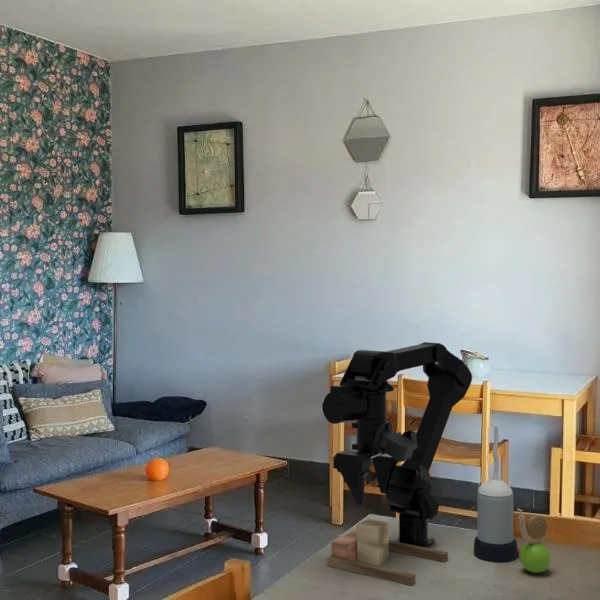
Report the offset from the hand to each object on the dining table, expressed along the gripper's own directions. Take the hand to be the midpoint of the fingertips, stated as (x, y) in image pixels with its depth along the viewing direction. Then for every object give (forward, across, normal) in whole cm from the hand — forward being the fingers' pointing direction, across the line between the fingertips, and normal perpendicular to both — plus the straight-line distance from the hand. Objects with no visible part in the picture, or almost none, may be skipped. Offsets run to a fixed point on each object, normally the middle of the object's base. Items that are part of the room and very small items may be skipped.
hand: (371, 498), depth 153 cm
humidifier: (+12, +15, -19) cm, 27 cm away
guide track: (+12, 0, -3) cm, 12 cm away
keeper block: (+12, 0, 0) cm, 12 cm away
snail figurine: (+12, +10, -28) cm, 32 cm away
